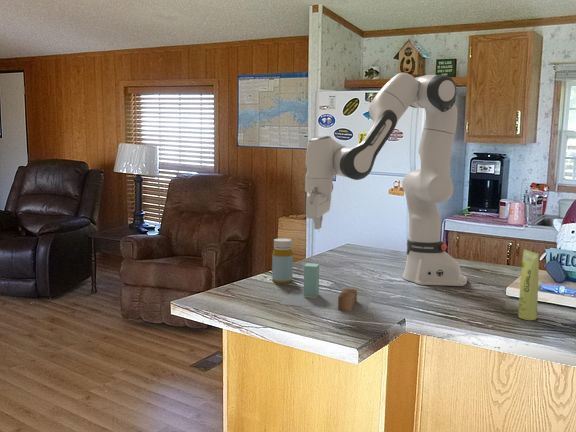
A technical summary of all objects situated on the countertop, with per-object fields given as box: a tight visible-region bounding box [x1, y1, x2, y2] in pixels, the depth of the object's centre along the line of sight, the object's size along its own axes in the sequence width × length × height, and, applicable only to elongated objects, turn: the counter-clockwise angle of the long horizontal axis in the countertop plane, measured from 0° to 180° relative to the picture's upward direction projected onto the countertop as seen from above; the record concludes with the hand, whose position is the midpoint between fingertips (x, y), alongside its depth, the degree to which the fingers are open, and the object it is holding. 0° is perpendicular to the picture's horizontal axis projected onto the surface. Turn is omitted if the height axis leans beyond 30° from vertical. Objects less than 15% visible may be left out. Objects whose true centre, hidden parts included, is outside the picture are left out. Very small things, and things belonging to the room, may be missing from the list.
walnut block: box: [337, 287, 358, 312], centre depth 174 cm, size 4×4×10 cm
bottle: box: [271, 237, 294, 284], centre depth 201 cm, size 7×7×15 cm
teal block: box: [303, 262, 320, 298], centre depth 184 cm, size 4×4×10 cm
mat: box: [279, 290, 373, 313], centre depth 179 cm, size 26×16×1 cm, turn 74°
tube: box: [517, 248, 540, 321], centre depth 164 cm, size 6×5×20 cm
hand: (317, 228), depth 189 cm, fingers closed
